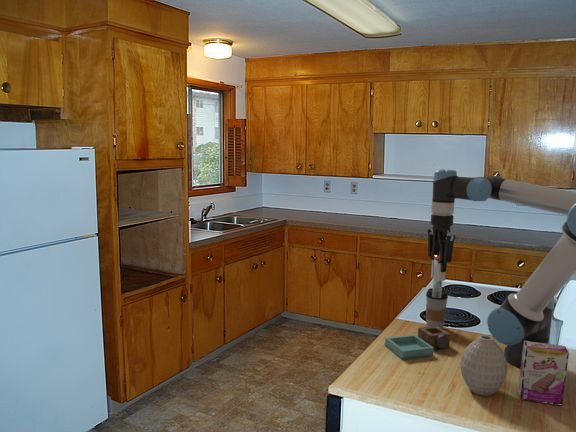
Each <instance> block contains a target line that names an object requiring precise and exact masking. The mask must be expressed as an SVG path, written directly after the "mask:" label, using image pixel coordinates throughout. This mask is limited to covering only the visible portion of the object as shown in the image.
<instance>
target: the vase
mask: <svg viewBox="0 0 576 432" xmlns="http://www.w3.org/2000/svg"><path fill="white" fill-rule="evenodd" d="M460 372H461V376H462V379H463V381H464V383H465V384H466V386H467V387H468V389H470V391H471V392H472V393H474V394H476V395H480V396H482V397H484V396H491V395H493V394H495V393H496V392H498V391H499V389H501V387H503V385H504V384H505V381H506V379H507V375H508V362H507V361H506V357H505V355H504V350H503V349H502V348H501V347H500V345H499V344H498V343H497V342H496V341H495V338H494V337H493V336H492V335H491V336H490V335H486V334H481V335H479V336H478V338H476V339H474V340H473V341H472V342H471V343H469V344H468V345H467V347H466V348H465V350H463V353H462V356H461V359H460Z"/></svg>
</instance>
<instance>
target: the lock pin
mask: <svg viewBox="0 0 576 432" xmlns="http://www.w3.org/2000/svg"><path fill="white" fill-rule="evenodd" d="M434 259H435V260H434V275H433V278H432V288H433V290H432V297H434V298H441V295H442V289H443V281H437V276H438V262H439V261H440V253H439V254H434Z"/></svg>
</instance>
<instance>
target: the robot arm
mask: <svg viewBox="0 0 576 432" xmlns="http://www.w3.org/2000/svg"><path fill="white" fill-rule="evenodd" d="M457 174H458V172H457V171H456V170H455V169H440V168H439V169H435V171H434V174H433V180H432V201H431V210H430V211H431V215H430V225H431V226H432V228H431V229H427V235H428V238H427V240H428V241H427V256H428V257H430V259H431V263H430V264H431V265H430V266H431V267H430V268H431V273H430V278H431V279H433V275H434V260H435V259H434V254H440V261H439V262H438V276H437V281H442V282H443V281H446V274H447V273H446V272H447V265H448V263H451V262H452V258H453V250H454V244H455V243H454V242H455V240H456V235H454V234H452V233H451V232H452V231H451V227H452V226H453V225H454V215H453V214H455V213H454V212H455V200H456V199H459V200H464V201H471V202H486V201H487V200H488V199H491V200H496V201H501V202H502V201H503V202H506V203H511V204H513V205H514V204H515V205H520V206H522V207H523V206H524V207H528V208H532V209H538V210H542V211H546V212H550V213H554V214H559V215H563V216H566V221H565V222H564V223H563V224H562V226H561V233H562V235H561V237H560V238H559V239H558V240H557V242H556V243H555V245H554V246H553V247H552V248H551V249H550V251H549V252H548V253H547V254H546V256H545V257H544V258H543V260H542V261H541V262H540V263H539V264H538V266H537V267H536V269H535V270H534V272H532V273H531V275H530V276H529V278H527V280H526V281H525V283H524V284H523V285H522V287H521V288H520V289H519V290H518V292H515V293H510V294H509V295H508V296H507V297H506V298H505V300H504V301H503V302H502V304H501V305H500V306H499V307H497V308H495V309H493V310H492V311H490V313H489V314H488V316H487V320H486V325H487V328H488V331H489V333H490V335H491V337H493V339H494V340H496V341H497V342H498V343H500V344H502V345H506V346H505V347H504V350H503V353H504V355H505V357H506V361H507V363H509V364H510V365H513V366H514V367H517V368H520V369H521V361H522V353H523V344H524V341H531V342H538V343H546V344H550V337H551V336H550V335H551V328H552V320H553V319H552V318H553V311H554V308H553V307H554V302H553V299H554V298H555V297H556V296H557V295H558V293H559V292H560V291H561V290H562V289H563V288H564V286H565V285H566V284H567V282H568V281H569V280H570V279H571V278H572V276H573V275H574V274H575V273H576V191H573V190H571V191H570V190H566V189H559V188H556V187H550V186H545V185H541V184H540V185H539V184H534V183H530V182H524V181H518V180H514V179H508V178H504V177H502V176H499V175H490V176H477V177H471V176H470V177H468V176H458V175H457Z"/></svg>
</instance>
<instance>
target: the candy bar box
mask: <svg viewBox="0 0 576 432" xmlns="http://www.w3.org/2000/svg"><path fill="white" fill-rule="evenodd" d="M569 353H570V352H569V349H568V348H567V346H566V345H560V344H553V343H549V344H546V343H538V342H531V341H524V344H523V353H522V361H521V368H520V370H519V372H520V373H519V378H518V388H517V392H518V395H519V399H520V400H521V399H522V401H527V400H530V401H529V402H534V401H539V402H538V403H540V402H547V403H553V404H562V405H563V401H564V393H565V388H566V387H565V386H566V377H567V371H568V369H567V368H568V361H569V355H570V354H569ZM547 403H546V404H547ZM553 404H552V405H553Z"/></svg>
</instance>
